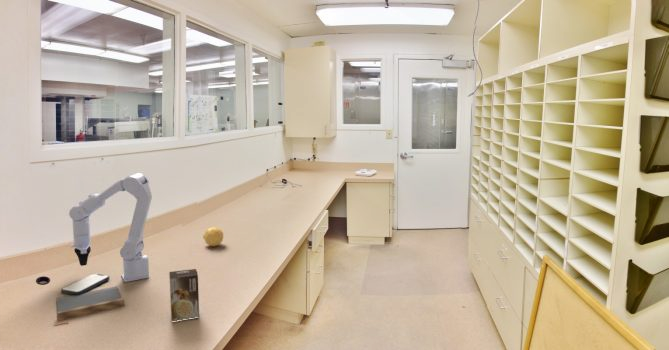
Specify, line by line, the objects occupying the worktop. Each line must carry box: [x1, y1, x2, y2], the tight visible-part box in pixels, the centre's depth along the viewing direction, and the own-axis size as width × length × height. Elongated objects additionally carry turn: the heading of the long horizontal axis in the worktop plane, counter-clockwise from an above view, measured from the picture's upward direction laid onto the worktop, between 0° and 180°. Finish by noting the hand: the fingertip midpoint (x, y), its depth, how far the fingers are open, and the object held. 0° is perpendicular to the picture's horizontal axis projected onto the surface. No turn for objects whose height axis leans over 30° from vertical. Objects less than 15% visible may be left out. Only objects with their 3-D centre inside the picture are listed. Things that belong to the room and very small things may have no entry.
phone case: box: [60, 273, 110, 295], centre depth 159 cm, size 9×2×16 cm
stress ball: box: [203, 226, 224, 248], centre depth 210 cm, size 10×10×10 cm
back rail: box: [57, 297, 126, 322], centre depth 140 cm, size 20×2×2 cm, turn 126°
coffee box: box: [168, 268, 200, 322], centre depth 138 cm, size 9×6×16 cm
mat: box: [56, 286, 123, 312], centre depth 148 cm, size 20×18×1 cm
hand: (83, 264), depth 167 cm, fingers closed
